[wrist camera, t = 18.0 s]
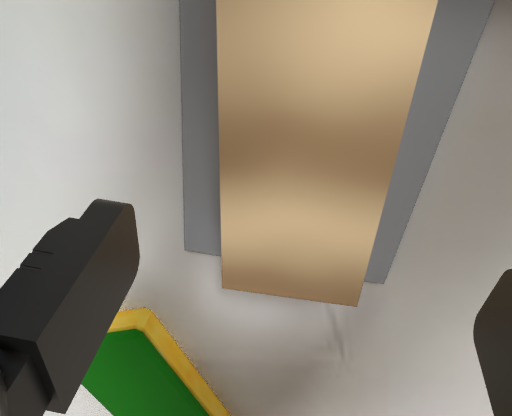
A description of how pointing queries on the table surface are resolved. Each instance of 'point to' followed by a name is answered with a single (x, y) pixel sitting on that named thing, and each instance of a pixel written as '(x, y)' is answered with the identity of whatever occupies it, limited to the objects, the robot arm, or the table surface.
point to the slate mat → (411, 146)
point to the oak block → (310, 137)
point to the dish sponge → (147, 372)
